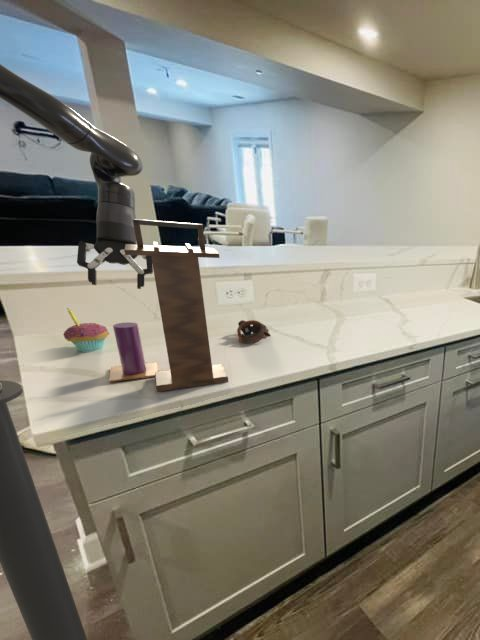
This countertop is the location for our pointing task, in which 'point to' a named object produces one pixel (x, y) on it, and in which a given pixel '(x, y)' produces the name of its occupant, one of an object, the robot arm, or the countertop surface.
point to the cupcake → (86, 335)
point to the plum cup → (130, 348)
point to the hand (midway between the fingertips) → (117, 286)
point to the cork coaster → (118, 374)
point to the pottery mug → (257, 329)
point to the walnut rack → (181, 308)
